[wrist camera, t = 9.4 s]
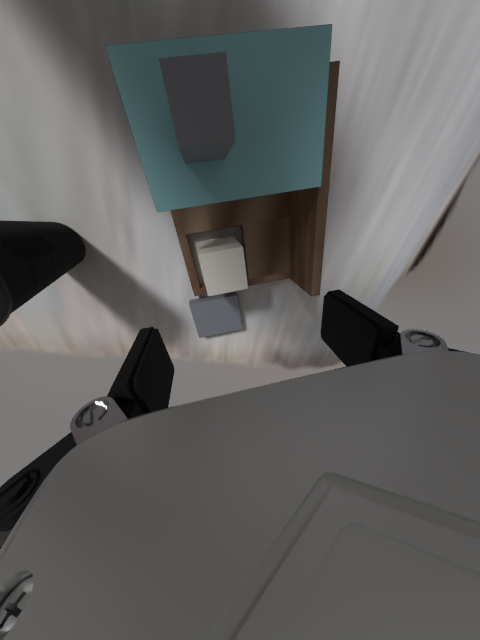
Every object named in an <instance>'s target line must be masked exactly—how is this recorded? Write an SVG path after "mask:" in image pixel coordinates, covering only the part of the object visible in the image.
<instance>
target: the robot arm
mask: <svg viewBox="0 0 480 640" xmlns="http://www.w3.org/2000/svg"><path fill="white" fill-rule="evenodd" d="M398 327H399V326H397V325H396V324H394V323H393V322H391V321H390V320H388V319H386V318H385V317H383V316H381V315H380V314H378V313H377V312H375V311H373V310H372V309H370V308H368V307H367V306H365V305H364V304H362V303H360V302H359V301H357V300H355V299H354V298H352V297H350V296H349V295H347V294H346V293H344V292H342V291H341V290H334V291H329V292H327V295H325V296H324V303H323V314H322V325H321V338H322V339H323V341H324V342H325V343H326V344H327V345H328V346H329V347H330V349H331V350H332V351H333V352H334V353H335V354H336V355H337V356H338V358H339V359H340V360H341V361H342V362H343V363H344V364H345V365H346V366H347V367H343V368H338V369H334V370H329V371H325V372H320V373H316V374H311V375H307V376H303V377H299V378H294V379H289V380H286V381H281V382H276V383H272V384H268V385H263V386H259V387H255V388H250V389H246V390H242V391H237V392H233V393H229V394H225V395H221V396H216V397H212V398H207V399H203V400H199V401H195V402H190V403H186V404H182V405H178V406H174V407H169V408H168V404H169V399H170V393H171V386H172V381H173V375H174V366H173V364H172V361H171V359H170V357H169V354H168V352H167V349H166V347H165V345H164V342H163V340H162V338H161V335H160V333H159V331H158V329H154V328H153V327H149V328H144V329H141V330H140V331H139V333H138V335H137V337H136V339H135V341H134V343H133V345H132V347H131V349H130V351H129V353H128V355H127V357H126V359H125V361H124V363H123V365H122V367H121V369H120V371H119V373H118V375H117V377H116V379H115V381H114V383H113V385H112V387H111V389H110V392H109V393H108V395H107V396H105V397H100V398H97V399H95V400H92V401H90V402H89V403H87V404H86V405H84V406H83V407H82V408H81V409H80V410H79V411H78V412H77V413H76V414H75V416H74V417H73V418H72V421H71V423H70V429H71V433H69V434H68V435H67V436H66V437H64V438H63V439H61V440H60V441H59V442H58V443H56V444H55V445H54V446H52V447H51V448H50V449H48V450H47V451H46V452H44V453H43V454H42V455H40V456H39V457H38V458H36V459H35V460H34V461H33V462H31V463H30V464H29V465H27V466H26V467H25V468H23V469H22V470H21V471H19V472H18V473H17V474H16V475H14V476H13V477H12V478H10V479H9V480H8V481H7V482H5V483H4V484H3V485H2V486H1V487H0V640H480V354H474V353H469V352H464V351H459V350H454V349H449V348H448V347H447V344H446V342H445V341H444V340H443V339H442V338H441V337H440V336H438V335H436V334H433V333H431V332H428V331H424V330H418V329H408V330H405V331H403V332H401V334H400V333H399V332H397V330H398Z"/></svg>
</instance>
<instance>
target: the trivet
mask: <svg viewBox="0 0 480 640" xmlns="http://www.w3.org/2000/svg"><path fill="white" fill-rule="evenodd" d="M189 305H190V309H191V312H192V315H193V319H194V322H195V325H196V328H197V332H198V335H199V338H202V337H207V336H212V335H216V334H221V333H226V332H231V331H236V330H241V329H242V322H241V316H240V309H239V303H238V296H237V293H236V291H235V292H230V293H225V294H220V295H214V296H209V297H204V298H199V299H194V300H190V303H189Z"/></svg>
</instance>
